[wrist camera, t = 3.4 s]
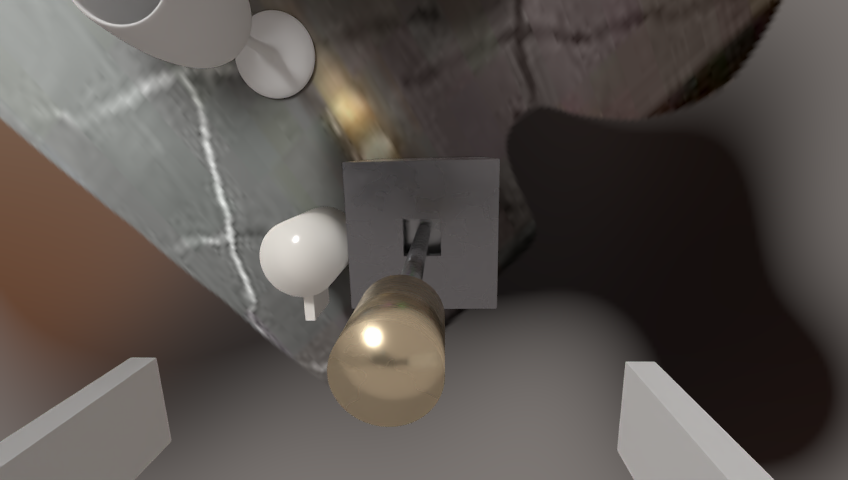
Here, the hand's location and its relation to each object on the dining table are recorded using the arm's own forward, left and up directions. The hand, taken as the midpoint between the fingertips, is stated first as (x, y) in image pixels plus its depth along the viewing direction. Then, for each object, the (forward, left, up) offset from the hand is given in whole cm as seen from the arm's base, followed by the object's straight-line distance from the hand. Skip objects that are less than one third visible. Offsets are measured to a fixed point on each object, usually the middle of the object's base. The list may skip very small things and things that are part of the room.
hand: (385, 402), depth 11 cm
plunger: (0, 0, -24) cm, 24 cm away
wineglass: (-16, +17, -35) cm, 42 cm away
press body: (0, 0, -34) cm, 34 cm away
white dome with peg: (-12, -4, -34) cm, 37 cm away
